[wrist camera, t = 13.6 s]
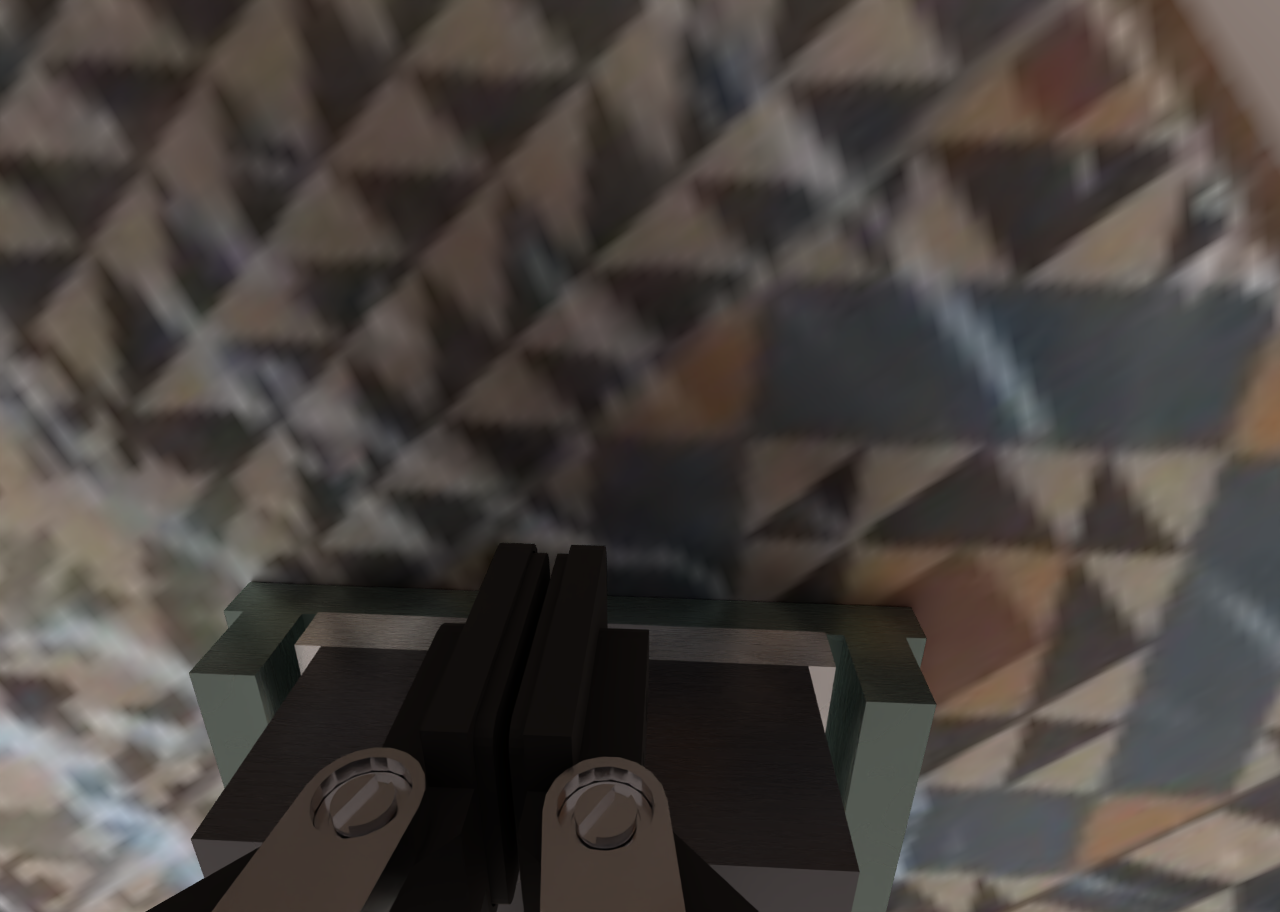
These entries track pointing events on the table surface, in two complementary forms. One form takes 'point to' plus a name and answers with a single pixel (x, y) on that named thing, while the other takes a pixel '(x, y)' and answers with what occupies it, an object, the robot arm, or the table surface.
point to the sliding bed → (675, 748)
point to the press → (858, 635)
